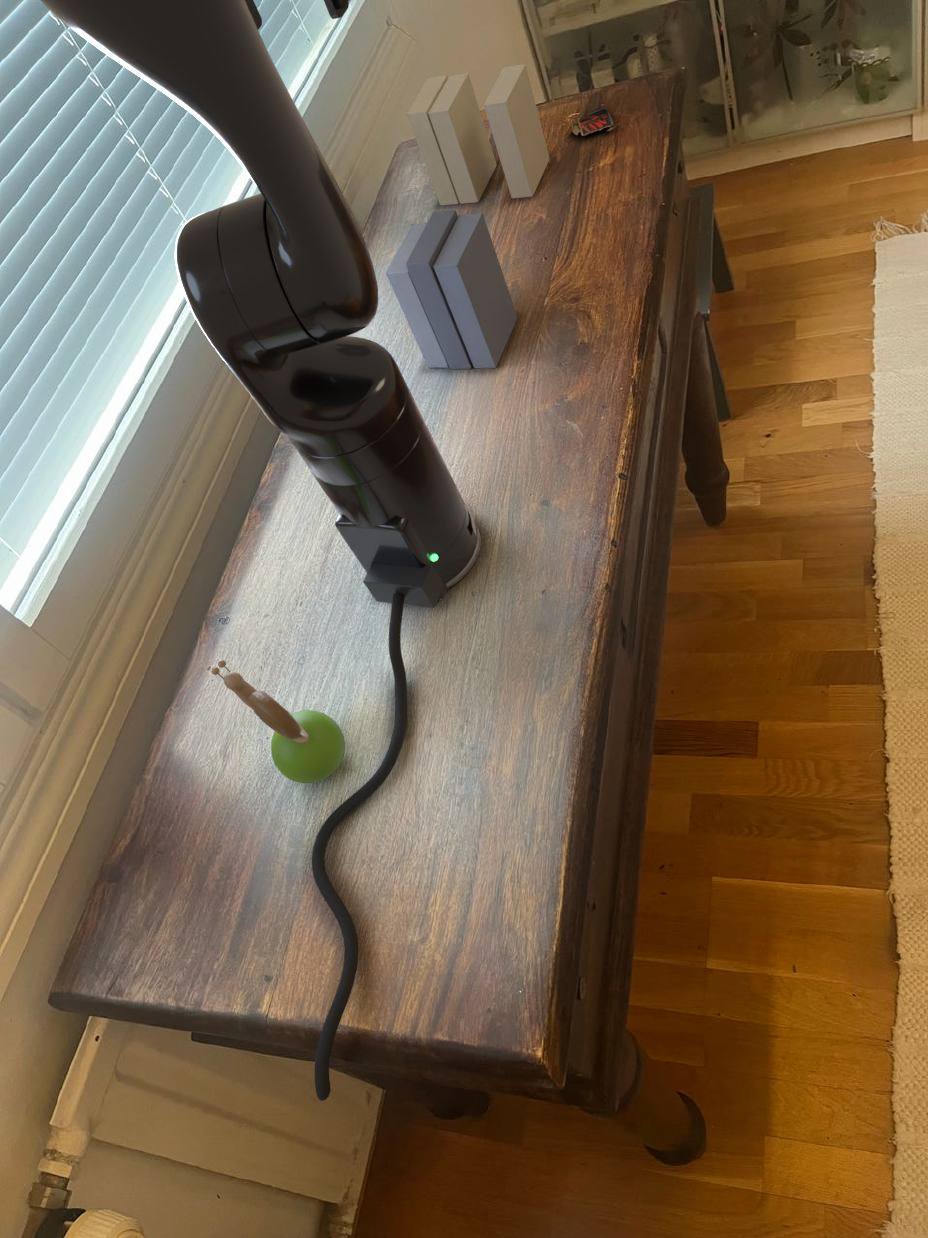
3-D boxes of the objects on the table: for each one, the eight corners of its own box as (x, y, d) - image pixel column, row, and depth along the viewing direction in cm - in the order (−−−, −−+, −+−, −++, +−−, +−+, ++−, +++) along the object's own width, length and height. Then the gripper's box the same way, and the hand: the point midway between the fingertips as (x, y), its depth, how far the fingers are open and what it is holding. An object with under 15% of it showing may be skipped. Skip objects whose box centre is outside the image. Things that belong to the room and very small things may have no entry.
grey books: (495, 368, 90) (454, 260, 81) (427, 369, 94) (379, 265, 84) (518, 316, 94) (481, 206, 84) (451, 318, 97) (408, 213, 87)
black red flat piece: (603, 108, 110) (602, 104, 109) (621, 125, 107) (620, 121, 106) (567, 126, 110) (566, 123, 110) (584, 144, 107) (583, 140, 107)
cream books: (478, 202, 108) (447, 108, 99) (440, 205, 110) (406, 114, 101) (496, 164, 111) (468, 70, 102) (459, 169, 113) (428, 77, 104)
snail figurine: (315, 713, 74) (240, 634, 65) (369, 750, 71) (298, 672, 61) (270, 767, 73) (187, 693, 63) (323, 808, 69) (243, 736, 60)
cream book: (532, 196, 105) (506, 101, 96) (511, 198, 106) (483, 104, 97) (550, 158, 108) (525, 63, 99) (529, 161, 109) (503, 66, 100)
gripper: (84, -178, 64) (208, 61, 76) (248, -238, 58) (354, 33, 70) (136, -224, 67) (247, 12, 80) (297, -286, 61) (389, -19, 74)
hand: (297, 21), depth 75 cm, fingers open, 8 cm apart
